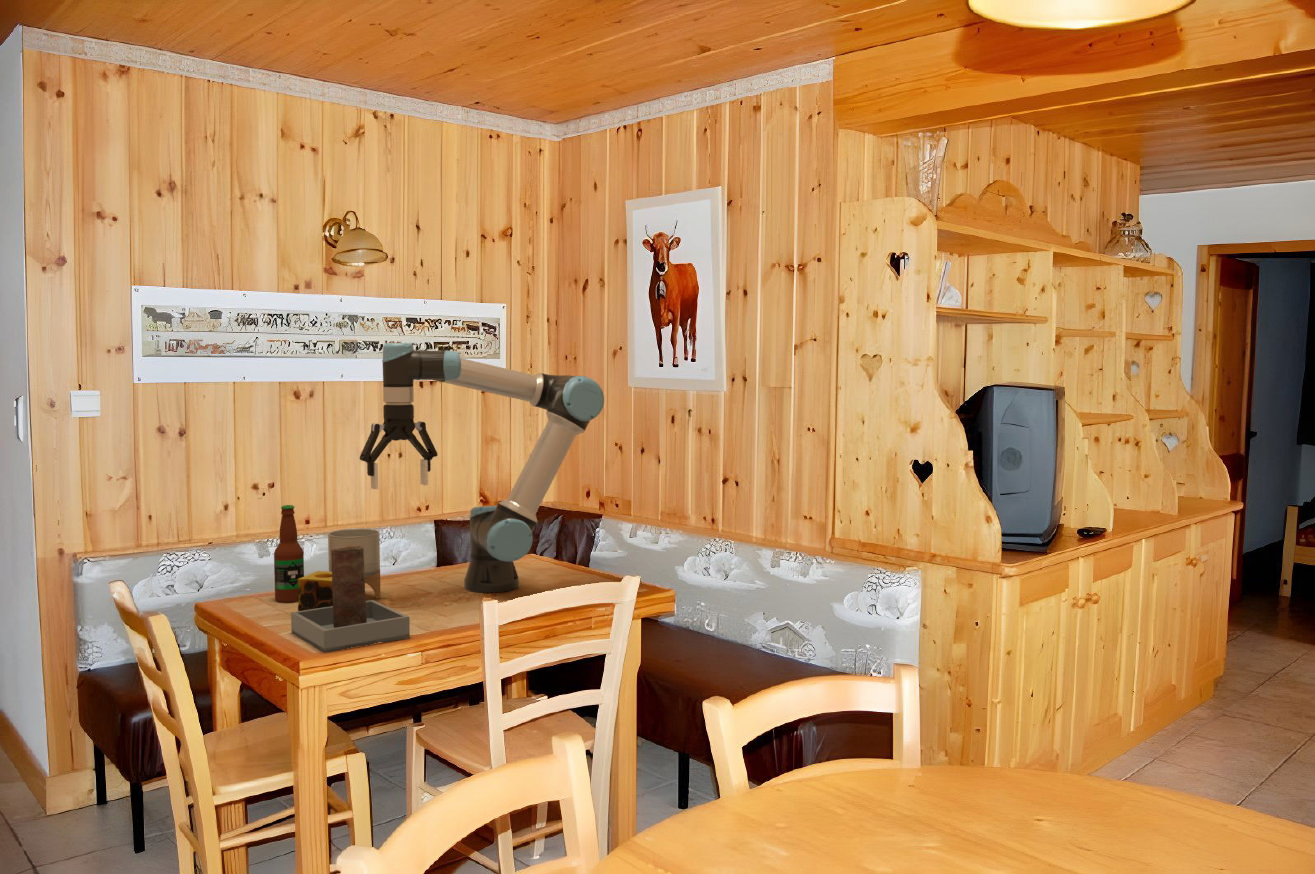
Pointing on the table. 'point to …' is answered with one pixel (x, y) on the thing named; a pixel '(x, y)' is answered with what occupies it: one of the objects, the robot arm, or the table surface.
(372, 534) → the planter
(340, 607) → the candle
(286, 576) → the bottle
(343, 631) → the bin
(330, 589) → the candle
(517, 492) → the robot arm
